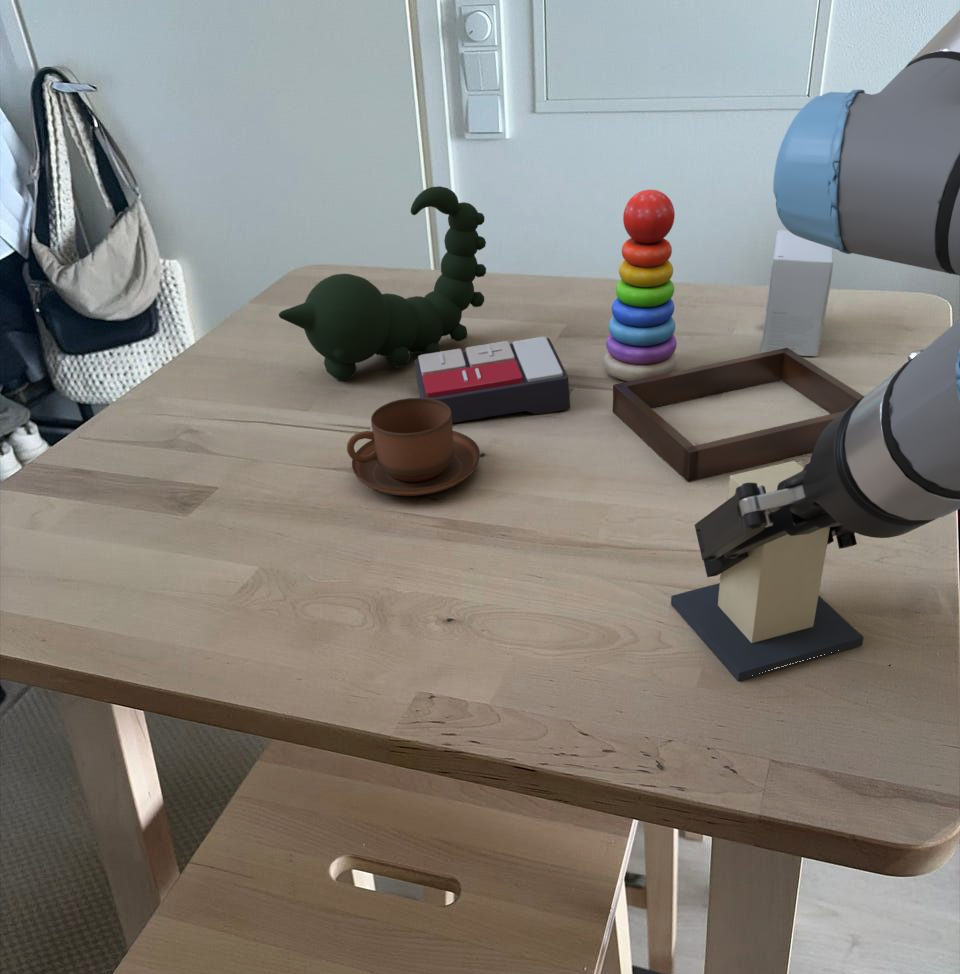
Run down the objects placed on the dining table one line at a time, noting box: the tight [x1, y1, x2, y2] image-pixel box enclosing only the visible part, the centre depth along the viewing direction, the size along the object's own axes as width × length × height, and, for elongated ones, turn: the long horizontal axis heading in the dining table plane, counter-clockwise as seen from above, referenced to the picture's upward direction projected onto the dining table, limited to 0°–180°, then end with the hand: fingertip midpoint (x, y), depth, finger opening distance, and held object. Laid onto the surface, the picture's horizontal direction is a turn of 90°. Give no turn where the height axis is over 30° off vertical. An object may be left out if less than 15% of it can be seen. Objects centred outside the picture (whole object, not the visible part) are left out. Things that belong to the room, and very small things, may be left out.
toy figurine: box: [278, 185, 487, 381], centre depth 113 cm, size 9×19×25 cm
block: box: [718, 460, 830, 643], centre depth 72 cm, size 5×5×11 cm
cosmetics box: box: [759, 229, 834, 357], centre depth 114 cm, size 10×6×10 cm, turn 165°
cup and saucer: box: [346, 397, 481, 497], centre depth 95 cm, size 12×12×6 cm
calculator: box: [413, 336, 571, 424], centre depth 109 cm, size 11×4×15 cm
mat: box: [670, 582, 864, 682], centre depth 76 cm, size 10×10×1 cm
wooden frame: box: [612, 348, 865, 483], centre depth 100 cm, size 20×16×3 cm
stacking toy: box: [603, 189, 678, 382], centre depth 107 cm, size 8×8×19 cm
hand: (747, 551), depth 76 cm, fingers closed on block, 5 cm apart
